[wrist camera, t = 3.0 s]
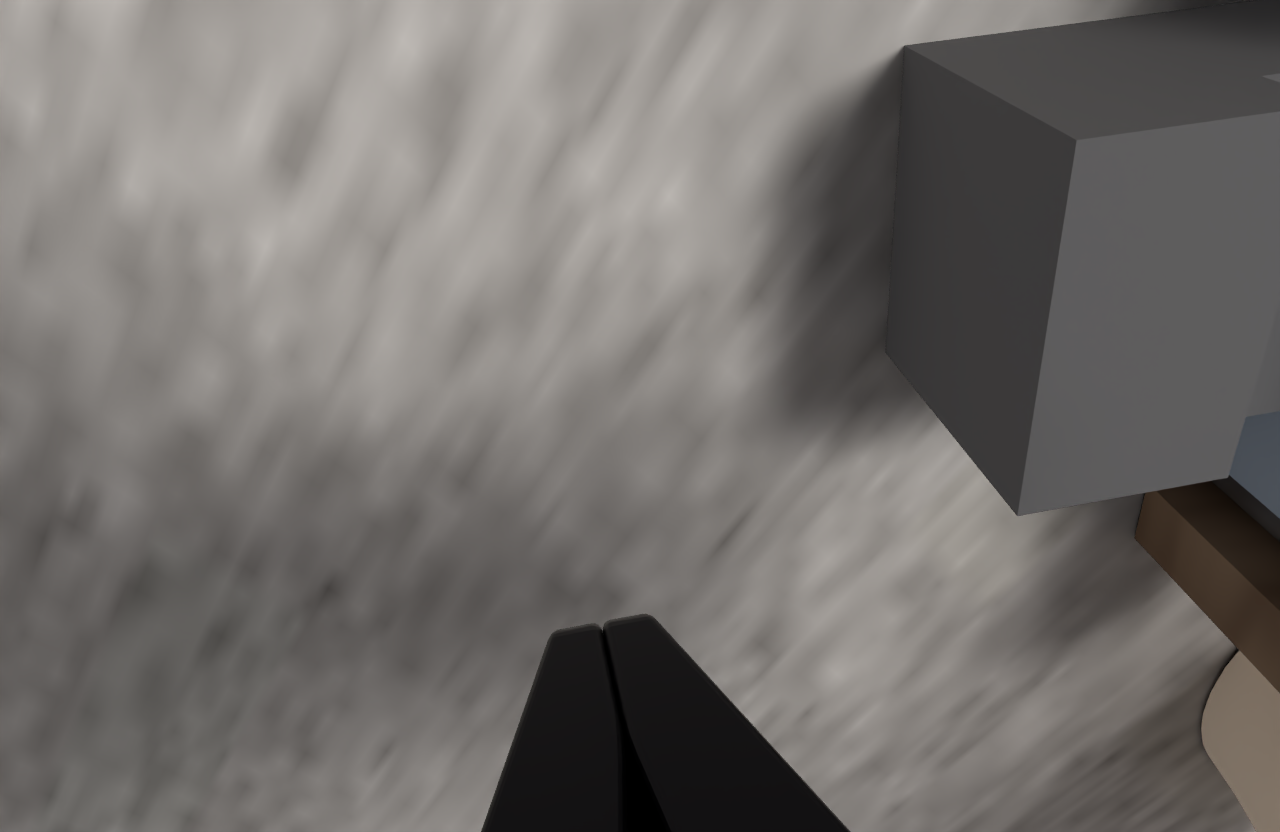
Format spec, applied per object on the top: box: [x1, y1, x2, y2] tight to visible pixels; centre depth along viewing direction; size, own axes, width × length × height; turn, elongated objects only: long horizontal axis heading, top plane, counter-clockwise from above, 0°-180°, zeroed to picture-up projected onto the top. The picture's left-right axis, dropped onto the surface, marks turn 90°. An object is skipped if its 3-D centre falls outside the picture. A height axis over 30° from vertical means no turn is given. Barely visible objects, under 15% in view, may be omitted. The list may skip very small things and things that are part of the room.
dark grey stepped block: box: [886, 0, 1280, 516], centre depth 14 cm, size 5×6×5 cm
